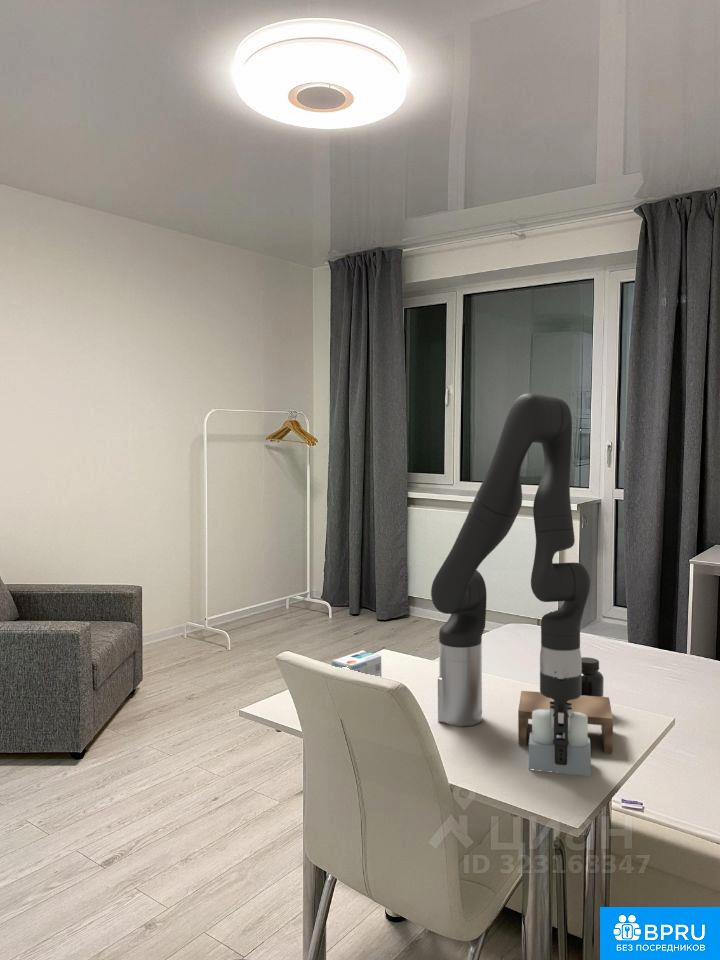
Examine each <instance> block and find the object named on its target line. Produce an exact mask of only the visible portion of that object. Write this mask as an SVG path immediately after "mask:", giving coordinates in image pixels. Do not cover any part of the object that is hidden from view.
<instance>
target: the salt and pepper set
mask: <svg viewBox="0 0 720 960" xmlns="http://www.w3.org/2000/svg"><path fill="white" fill-rule="evenodd" d="M531 721H532V722H531V732H529V739H528V770H529V769H534V770H541V771H540V772H544V771H552V772H551V773H553V772H558V773H557V774H563V773H564V774H565V775H575V776H585V777H592V776H591V775H592V767H591V766H592V764H591V763H592V749H591V738H590V737H588V727H589V726H588V725H589V724H588V717H587V716H586V715H585V714H583V713H579V712H572V717H571V718H570V724H571V730H570V733H568V741H569V744H568V746H567V765H557V764H555V745H554V743H553V739H554V732H552V730H551V716H550V710H545V709H538V710H534V711H533V712H532V719H531ZM557 738H565V733H563V735H557ZM534 770H533V771H534Z"/></svg>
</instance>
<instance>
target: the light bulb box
mask: <svg viewBox="0 0 720 960" xmlns="http://www.w3.org/2000/svg"><path fill="white" fill-rule="evenodd" d="M332 666H335V667H341V668H342V667H347V666H348V667H347V668H349V669H350V670H354V671H358V672H361V673H365V674H370V675H375V676H380V677H382V676H383V675H382V673H383V672H382V655H381V654H377V653H375V652H369V651H366V650H360V651H356V652H353V653H350V654H349V655H346V656H342V657H339V658H335V659H332V660H331V667H332Z"/></svg>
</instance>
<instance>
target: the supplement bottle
mask: <svg viewBox="0 0 720 960" xmlns="http://www.w3.org/2000/svg"><path fill="white" fill-rule="evenodd" d="M581 661H582V693H581V695H585V696H598V697H604V681H605V680H604V675H603V674H602V673H601V671H599V670H600V661H599V659H597V658H595V657H589V656H588V657H584V656H583V657H582V656H581Z"/></svg>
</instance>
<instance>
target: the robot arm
mask: <svg viewBox="0 0 720 960" xmlns="http://www.w3.org/2000/svg"><path fill="white" fill-rule="evenodd" d="M572 421H573V419H572V413H571V409H570V407H569V404H567V402H566V401H564V400H563V399H561V398H558V397H555V396H550V395H542V394H537V393H531V392H530V393H523V394H521V395H519V396H518V397H517V398H516V399H515V401H514V402H513V404H512V405H511V407H510V409H509V411H508V413H507V416H506V418H505V421H504V423H503V427H502V430H501V433H500V436H499V439H498V442H497V446H496V448H495V452H494V454H493V457H492V459H491V461H490V464H489V466H488V469H487V472H486V473H485V476H484V478H483V481H482V483H481V485H480V487H479V488H478V491H477V492H476V495H475V496H474V499H473V502H472V503H471V506H470V508H469V511H468V513H467V515H466V518H465V520H464V523H463V525H462V526H461V528H460V531H459V532H458V534H457V537H456V539H455V541H454V544H453V545H452V548H451V550H450V551H449V553H448V554H447V556H446V558H445V560H444V561H443V563H442V565H441V566H440V568H439V569H438V572H437V573H436V575H435V576H434V578H433V582H432V584H431V589H430V590H431V591H430V595H431V596H430V597H431V602H432V605H433V606H434V607H435V609H436V610H437V611H439V612H440V613H442V614H445V615H446V614H447V615H450V616H449V618H448V620H447V621H446V622H445V623H444V624H443V625H442V626H441V627H440V629H439V632H438V633H439V634H438V643H439V644H438V645H439V649H438V654H439V655H438V656H439V657H438V658H439V664H438V665H439V668H438V669H439V672H438V673H439V676H438V677H437V722H440V723H445V724H447V725H450V726H456V727H469V726H475V725H477V724H480V723H481V722H482V720H483V676H482V675H483V673H482V672H483V667H482V666H483V663H482V662H483V656H482V655H483V653H482V648H483V646H482V643H483V642H482V638H483V634H484V632H485V628H486V621H487V620H486V619H487V617H486V616H487V596H488V595H487V587H486V582H485V579H484V577H483V575H482V574H481V573H480V572H479V571H478V570H477V569H478V568H479V566H480V565H481V564H482V563H483V561H484V560H485V559H486V558H487V557H488V556H489V555H490V554H491V553H492V551H495V549H496V547H498V546H499V545H500V543H502V542H503V540H504V539H505V538H506V536H507V535H508V534H509V532H510V531H511V529H512V527H513V525H514V523H515V521H516V519H517V516H518V514H519V512H520V510H521V508H522V503H523V489H522V480H521V470H522V465H523V463H524V460H525V458H526V455H527V453H528V451H529V449H530V448H531V446H532V444H533V443H536V444H537V443H538V444H540V445H541V446H542V451H543V458H544V459H543V461H544V464H543V470H542V471H543V472H542V475H541V479H540V481H539V484H538V487H537V490H536V491H535V496H534V499H533V504H532V505H533V506H532V507H533V508H532V512H533V523H534V531H535V532H534V533H535V550H534V560H533V564H532V570H531V575H530V588H531V591H532V594H533V595H534V597H535V598H536V599H537V600H538V601H540V602H543V603H551V602H552V603H554V602H557V603H558V602H563V603H562V605H561V606H560V607H559V608H557V610H553V611H551V612H548V613H546V614H544V615H543V616H542V618H541V620H540V644H541V645H540V652H539V692H541V694H542V695H544V696H545V697H547V698H551V699H553V700H554V701H550V716H551V730H552V732H554V739H553V743H554V745H555V764H557V765H567V746H568V744H569V741H568V733H570V730H571V724H570V718H571V717H572V707H571V703H570V702H567V701H568V700H571V699H572V700H574V699H577V698H579V697H580V696H581V693H582V661H581V658H582V653H581V624H582V623H581V622H582V619H583V615H584V612H585V607H586V604H587V600H588V598H589V594H590V589H591V578H590V573H589V571H588V569H587V568H586V567H585V566H584V565H583V564H582V563H579V562H555V563H553V559H554V556H555V554H556V553H558V552H560V551H565V550H569V549H572V548H573V547H574V545H575V540H576V539H575V529H574V521H573V514H572V513H573V512H572V504H571V491H570V490H571V487H570V486H571V484H570V483H571V462H572V460H571V459H572V442H573V441H572V436H573V435H572V434H573V422H572ZM563 733H565V738H557V735H563Z"/></svg>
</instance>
